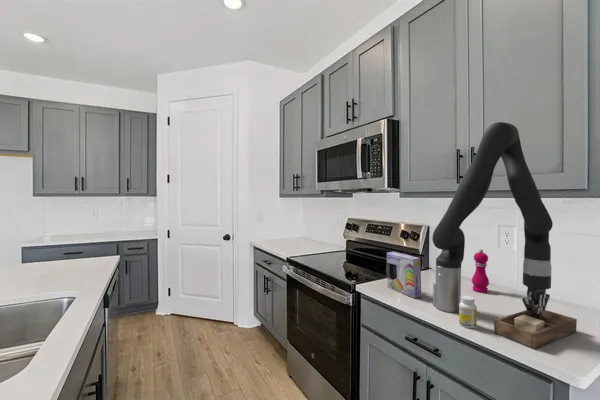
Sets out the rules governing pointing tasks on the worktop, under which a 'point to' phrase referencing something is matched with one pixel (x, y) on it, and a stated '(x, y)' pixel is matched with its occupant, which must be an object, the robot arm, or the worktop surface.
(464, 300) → the supplement bottle
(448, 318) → the worktop surface
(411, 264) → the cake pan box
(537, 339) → the divided wooden tray
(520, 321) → the block
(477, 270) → the pepper mill
